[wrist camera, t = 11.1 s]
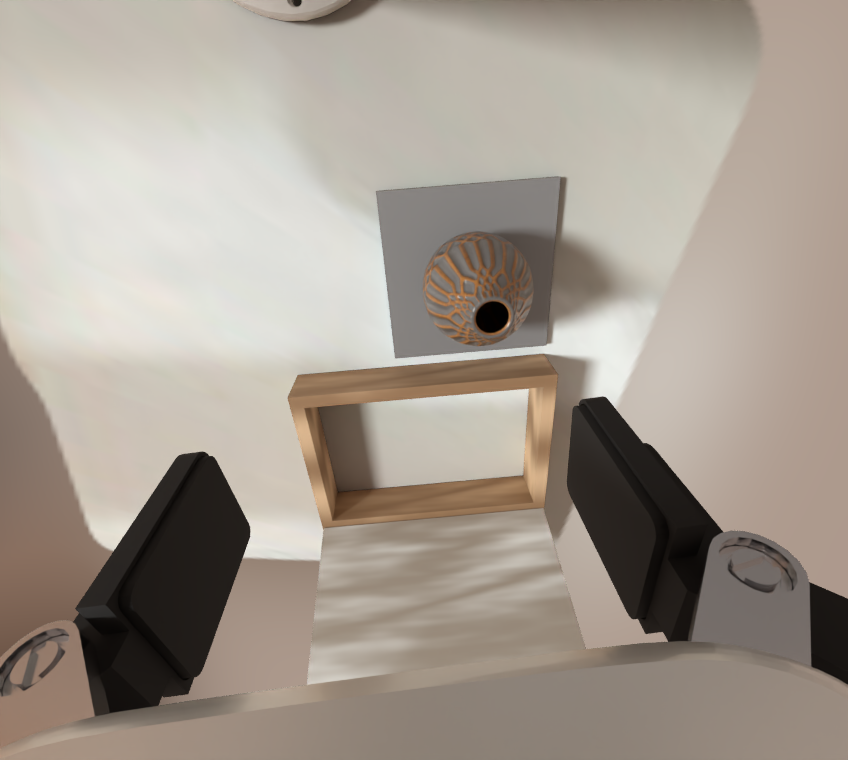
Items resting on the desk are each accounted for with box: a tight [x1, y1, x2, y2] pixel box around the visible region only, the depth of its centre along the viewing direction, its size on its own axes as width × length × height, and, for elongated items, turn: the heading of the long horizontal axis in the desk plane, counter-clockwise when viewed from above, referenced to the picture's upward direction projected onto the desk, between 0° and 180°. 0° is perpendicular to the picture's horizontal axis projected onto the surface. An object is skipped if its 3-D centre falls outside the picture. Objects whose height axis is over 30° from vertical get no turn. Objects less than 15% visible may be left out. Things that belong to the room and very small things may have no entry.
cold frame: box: [288, 354, 586, 685], centre depth 31 cm, size 19×20×17 cm
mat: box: [376, 177, 561, 358], centre depth 30 cm, size 12×12×1 cm
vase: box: [423, 231, 533, 346], centre depth 26 cm, size 7×7×9 cm
